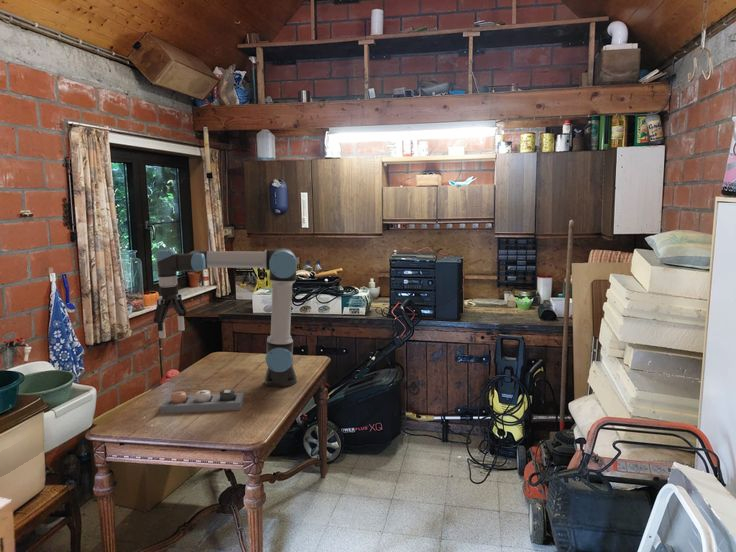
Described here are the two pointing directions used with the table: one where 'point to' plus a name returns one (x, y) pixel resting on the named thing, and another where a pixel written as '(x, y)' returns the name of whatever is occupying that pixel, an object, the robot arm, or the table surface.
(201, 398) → the button white
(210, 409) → the panel
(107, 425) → the table surface
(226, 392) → the button black
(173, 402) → the button terracotta
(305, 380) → the table surface
